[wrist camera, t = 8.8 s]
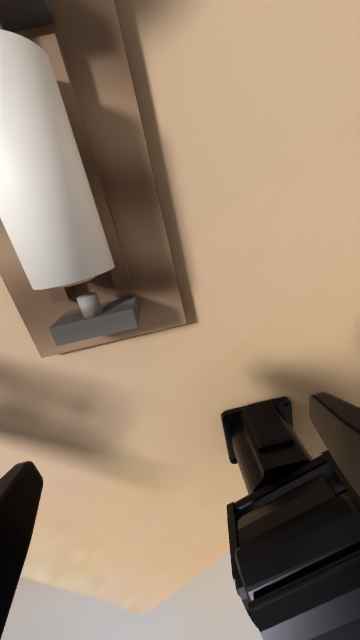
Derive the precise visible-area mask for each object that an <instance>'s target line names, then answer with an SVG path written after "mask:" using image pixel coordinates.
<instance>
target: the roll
mask: <svg viewBox="0 0 360 640" xmlns="http://www.w3.org/2000/svg"><path fill="white" fill-rule="evenodd" d="M0 218H1V221H2V223H3V225H4V227H5V229H6V232H7V234H8V236H9V238H10V240H11V243H12V245H13V247H14V249H15V251H16V253H17V256H18V258H19V260H20V262H21V264H22V267H23V269H24V271H25V273H26V275H27V278H28V280H29V282H30V284H31V286H32V289H33V290H42V289H49V288H54V287H60V288H62V287H69V286H73V285H77V284H80V283H84V282H87V281H89V280H91V279H93V278H95V276H97V275H100V274H102V273H105V272H107V271H109V270H111V269H113V268H114V267H115V265H114V262H113V259H112V256H111V253H110V249H109V246H108V243H107V240H106V237H105V233H104V230H103V227H102V224H101V221H100V218H99V214H98V211H97V208H96V205H95V202H94V198H93V195H92V192H91V189H90V186H89V183H88V179H87V176H86V173H85V170H84V167H83V163H82V160H81V157H80V154H79V151H78V148H77V144H76V141H75V138H74V135H73V132H72V128H71V125H70V122H69V119H68V116H67V113H66V109H65V106H64V103H63V100H62V97H61V93H60V90H59V87H58V84H57V81H56V78H55V74H54V71H53V68H52V65H51V62H50V59H49V57H48V55H47V54H46V53H45V51H44V50H43V49H42V48H41V47H40V46H38V45H37V44H36V43H34V42H33V41H31V40H29V39H27V38H25V37H23V36H21V35H18V34H15V33H13V32H9V31H5V30H1V29H0Z"/></svg>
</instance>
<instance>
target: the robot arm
mask: <svg viewBox="0 0 360 640" xmlns="http://www.w3.org/2000/svg"><path fill="white" fill-rule="evenodd" d="M284 403H285V404H284ZM309 406H310V418H311V420H312V422H313V424H314V426H315V427H316V429H317V431H318V433H319V434H320V436H321V438H322V440H323V441H324V443H325V445H326V446H327V448H328V450H329V451H328V450H326V451H325V452H323V453H321V454H322V455H320V456H319V457H317V458H315V459H312V458H311V456H310V455H309V453H308V452H307V450H306V449H305V447H304V445H303V444H302V442H301V441H300V439H299V438H298V436H297V435H296V433H295V432H294V430H293V424H292V405H291V401H290V400H289V399H288V398H286V397H283V398H279V399H275V400H271V401H267V402H262V403H258V404H254V405H250V406H246V407H241V408H237V409H233V410H229V411H225V412H223V413H222V414H221V419H222V424H223V429H224V434H225V440H226V445H227V450H228V455H229V459H230V462H231V463H232V464H237V463H238V465H239V467H240V470H241V473H242V476H243V479H244V482H245V485H246V488H247V491H248V494H249V495H247V496H246V497H244V498H242V499H240V500H238V501H236V502H235V503H234V502H232V503H230V504H228V505H227V516H228V518H227V520H228V531H229V543H230V554H231V565H232V575H233V579H234V582H235V586H236V590H237V593H238V595H239V596H240V597H241V599H242V602H243V604H244V606H245V608H246V611H247V612H248V614H249V616H250V618H251V620H252V621H253V622H254V624H255V626H256V627H257V628H258V629H259V631H260V633H261V635H262V637H263V640H360V408H359V407H357V406H354V405H352V404H350V403H348V402H346V401H343V400H341V399H339V398H337V397H335V396H332V395H330V394H328V393H326V392H318V393H314V394H311V395H310V397H309ZM227 416H228V417H227ZM225 417H227V418H225ZM42 488H43V479H42V476H41V475H40V473H39V471H38V470H37V468H36V467H35V465H34V463H33V462H31V461H27V462H22V463H19V464H16V465H15V466H14V467H13V468H12V469H11V470H10V471H8V472H7V473H6V474H5V475H4V476H3V477H2V478H1V479H0V639H1V636H2V633H3V630H4V627H5V623H6V620H7V617H8V613H9V610H10V607H11V604H12V601H13V597H14V594H15V591H16V588H17V585H18V581H19V578H20V575H21V572H22V568H23V565H24V562H25V559H26V555H27V552H28V548H29V545H30V541H31V537H32V533H33V529H34V524H35V520H36V515H37V510H38V506H39V501H40V497H41V492H42Z"/></svg>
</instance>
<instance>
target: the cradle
mask: <svg viewBox="0 0 360 640" xmlns="http://www.w3.org/2000/svg"><path fill="white" fill-rule="evenodd" d="M0 29H1V30H5V31H9V32H13V33H15V34H18V35H21V36H23V37H25V38H27V39H29V40H31V41H33V42H34V43H36V44H37V45H38V46H40V47H41V48H42V49H43V50H44V51H45V53H46V54H47V55H48V57H49V59H50V62H51V65H52V68H53V71H54V74H55V78H56V81H57V84H58V87H59V90H60V93H61V97H62V100H63V103H64V106H65V109H66V113H67V116H68V119H69V122H70V125H71V128H72V132H73V135H74V138H75V141H76V144H77V148H78V151H79V154H80V157H81V160H82V163H83V167H84V170H85V173H86V176H87V179H88V183H89V186H90V189H91V192H92V195H93V198H94V202H95V205H96V208H97V211H98V214H99V218H100V221H101V224H102V227H103V230H104V233H105V237H106V240H107V243H108V246H109V249H110V253H111V256H112V259H113V262H114V265H115V267H114V268H113V269H111V270H109V271H107V272H105V273H102V274H100V275H97V276H95V278H93V279H91V280H89V281H87V282H84V283H80V284H77V285H73V286H69V287H62V288H60V287H54V288H49V289H42V290H33V289H32V286H31V284H30V282H29V280H28V278H27V275H26V273H25V271H24V269H23V267H22V264H21V262H20V260H19V258H18V256H17V253H16V251H15V249H14V247H13V245H12V243H11V240H10V238H9V236H8V234H7V232H6V229H5V227H4V225H3V223H2V221H1V218H0V275H1V277H2V279H3V281H4V283H5V285H6V287H7V289H8V291H9V293H10V295H11V297H12V299H13V301H14V303H15V305H16V307H17V309H18V311H19V313H20V315H21V317H22V319H23V321H24V323H25V325H26V327H27V329H28V331H29V333H30V335H31V337H32V339H33V341H34V343H35V345H36V348H37V350H38V352H39V354H40V356H41V358H44V357H48V356H52V355H56V354H61V353H65V352H69V351H73V350H77V349H82V348H86V347H90V346H94V345H99V344H103V343H107V342H111V341H116V340H120V339H124V338H128V337H133V336H137V335H141V334H145V333H150V332H154V331H158V330H162V329H167V328H171V327H175V326H179V325H183V324H187V323H186V319H185V314H184V310H183V305H182V301H181V296H180V292H179V287H178V283H177V278H176V274H175V270H174V265H173V261H172V256H171V252H170V247H169V243H168V238H167V234H166V229H165V225H164V220H163V216H162V211H161V207H160V203H159V198H158V194H157V189H156V185H155V180H154V176H153V171H152V167H151V162H150V158H149V153H148V149H147V144H146V140H145V135H144V131H143V127H142V122H141V118H140V113H139V109H138V104H137V100H136V95H135V91H134V86H133V82H132V77H131V73H130V68H129V64H128V60H127V55H126V51H125V46H124V42H123V37H122V33H121V28H120V24H119V19H118V15H117V10H116V6H115V1H114V0H0Z"/></svg>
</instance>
